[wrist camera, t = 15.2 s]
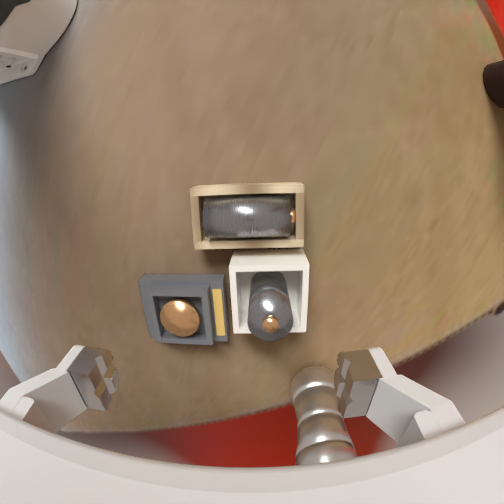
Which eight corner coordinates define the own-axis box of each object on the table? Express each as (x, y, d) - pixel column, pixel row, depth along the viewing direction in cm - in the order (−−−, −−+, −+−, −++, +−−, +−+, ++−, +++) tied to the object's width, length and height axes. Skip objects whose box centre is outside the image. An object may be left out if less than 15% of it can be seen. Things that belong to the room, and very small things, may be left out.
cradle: (155, 329, 36) (146, 344, 33) (144, 274, 34) (133, 285, 30) (229, 332, 36) (226, 348, 32) (224, 273, 33) (220, 286, 30)
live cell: (211, 233, 31) (204, 243, 27) (209, 196, 30) (201, 201, 26) (292, 231, 31) (296, 241, 27) (292, 193, 29) (296, 198, 26)
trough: (200, 241, 32) (194, 249, 29) (196, 185, 30) (189, 188, 27) (300, 239, 32) (303, 247, 29) (300, 182, 30) (304, 184, 27)
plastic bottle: (333, 389, 38) (360, 505, 19) (288, 394, 39) (297, 514, 20) (337, 356, 36) (374, 482, 17) (287, 361, 37) (298, 494, 18)
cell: (251, 301, 33) (247, 345, 25) (249, 268, 32) (246, 305, 24) (286, 300, 33) (293, 344, 25) (286, 267, 32) (294, 304, 23)
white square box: (237, 310, 35) (233, 333, 30) (233, 250, 32) (228, 266, 28) (300, 309, 34) (305, 331, 30) (302, 248, 32) (309, 264, 27)
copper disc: (165, 331, 33) (163, 335, 32) (159, 297, 31) (156, 301, 31) (202, 333, 33) (201, 337, 32) (198, 298, 31) (196, 301, 30)
